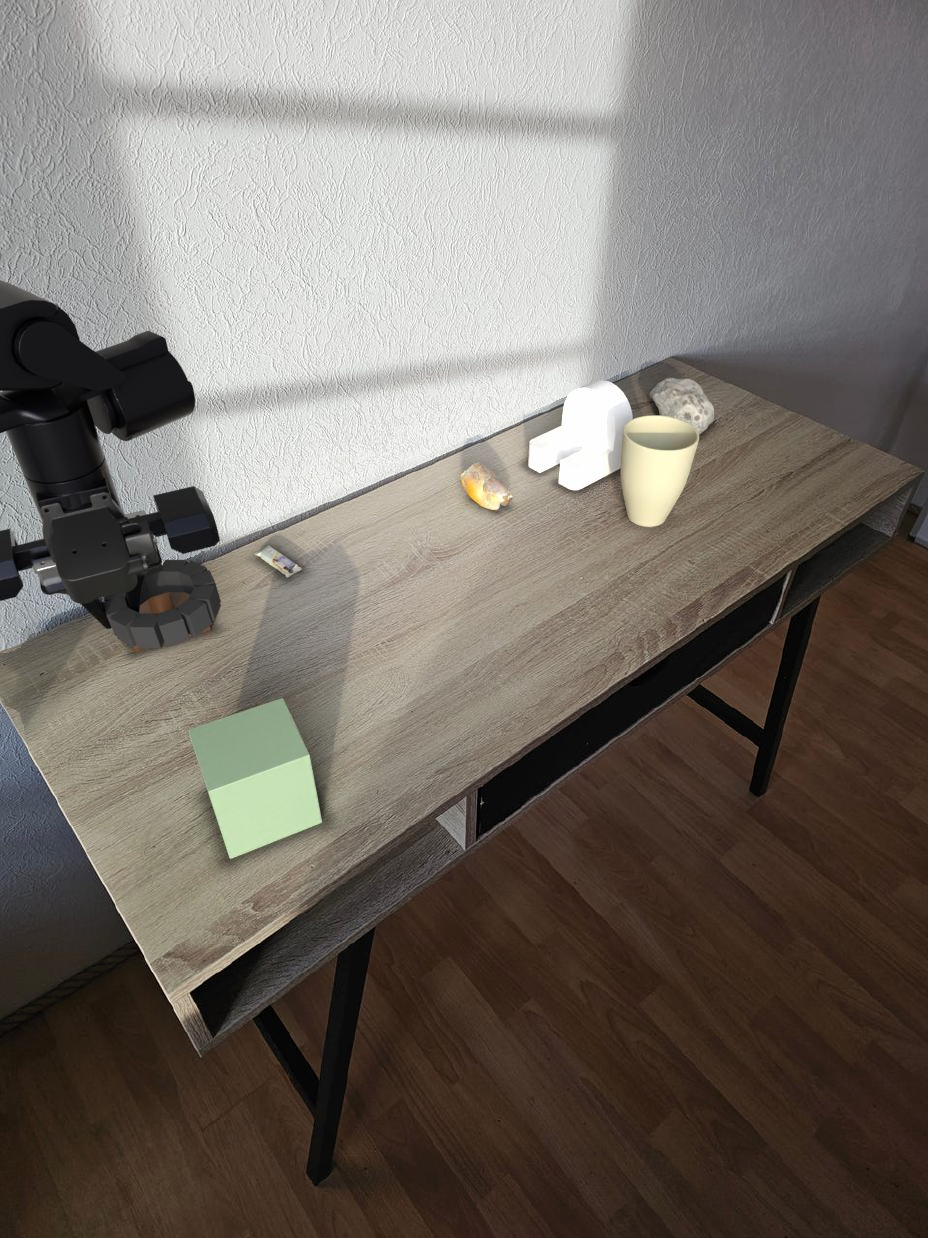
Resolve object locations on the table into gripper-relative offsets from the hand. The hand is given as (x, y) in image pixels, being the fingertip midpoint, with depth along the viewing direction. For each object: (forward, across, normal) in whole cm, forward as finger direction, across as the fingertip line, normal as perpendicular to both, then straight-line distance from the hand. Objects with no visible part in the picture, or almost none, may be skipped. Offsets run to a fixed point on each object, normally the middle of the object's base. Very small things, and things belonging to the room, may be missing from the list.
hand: (122, 622), depth 71 cm
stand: (+13, +4, +15) cm, 20 cm away
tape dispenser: (+13, +65, +25) cm, 71 cm away
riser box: (+13, +6, -15) cm, 20 cm away
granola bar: (+13, +18, +19) cm, 29 cm away
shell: (+13, +46, +20) cm, 52 cm away
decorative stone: (+13, +84, +29) cm, 90 cm away
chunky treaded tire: (0, +4, 0) cm, 4 cm away
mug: (+13, +64, +10) cm, 66 cm away
